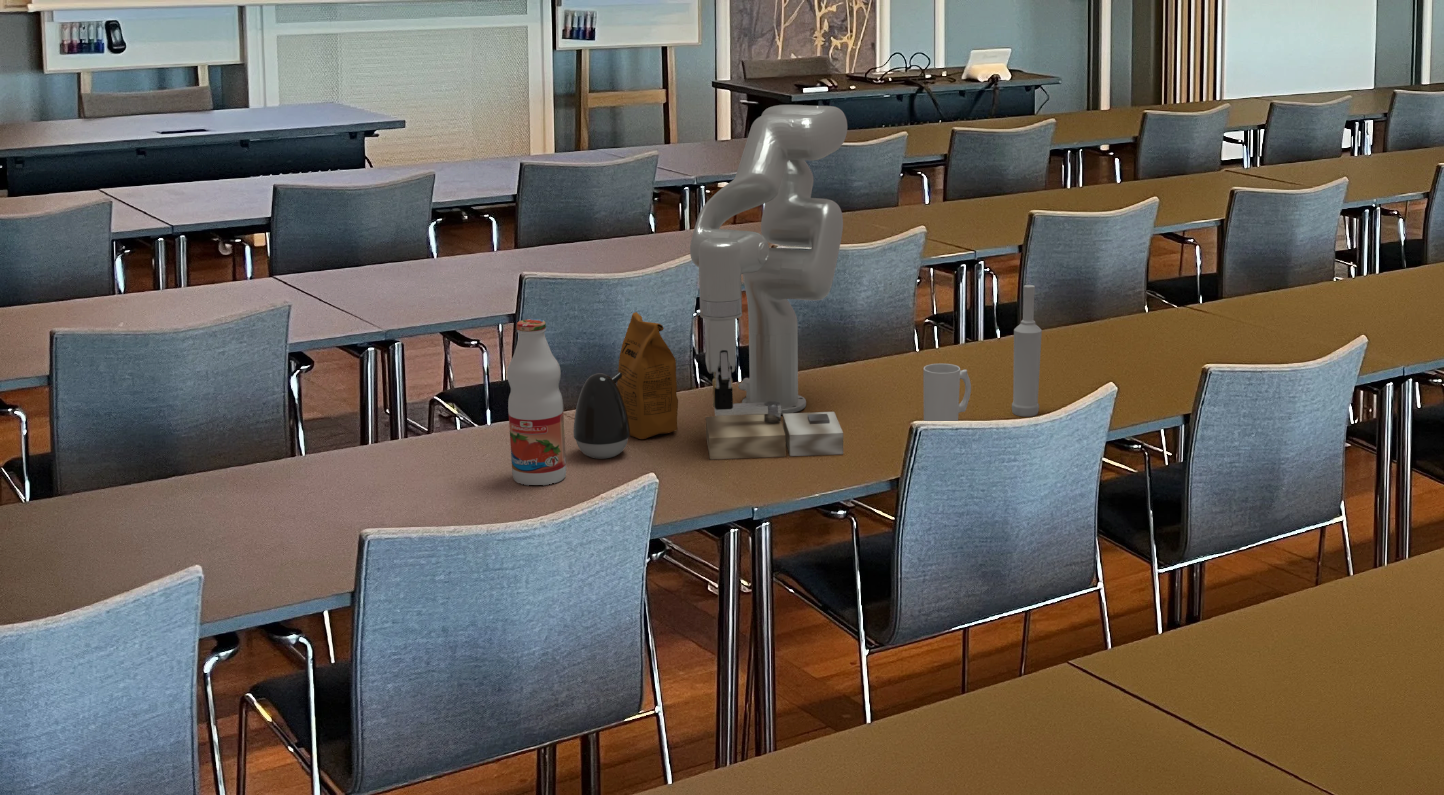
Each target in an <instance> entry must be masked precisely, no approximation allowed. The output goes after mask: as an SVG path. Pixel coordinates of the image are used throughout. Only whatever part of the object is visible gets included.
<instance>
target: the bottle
mask: <svg viewBox="0 0 1444 795" xmlns="http://www.w3.org/2000/svg"><path fill="white" fill-rule="evenodd" d="M1035 293H1036V287H1035V285H1033V284H1025V285H1023V309H1022V320H1021V321H1020V323H1019V325H1017V326H1016V327H1015V328H1014V329H1013V389H1012V390H1013V396H1012V397H1013V398H1012V400H1013V402H1012V403H1011V411H1012V414H1013V415H1016V416H1017V417H1035V416H1037V415H1038V413H1039V410H1040V404H1039V384H1040V366H1041V352H1042V351H1041V350H1042V349H1041V348H1042V334H1043V333H1042V332H1043V330H1042V329H1041V328H1040V327H1039V326H1038V325H1037V323H1036V321H1035V320H1034V318H1035V316H1034V315H1035V314H1034V313H1035V296H1036V295H1035Z"/></svg>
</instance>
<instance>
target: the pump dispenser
mask: <svg viewBox="0 0 1444 795" xmlns="http://www.w3.org/2000/svg"><path fill="white" fill-rule="evenodd" d="M621 377H622V374H621V373H620V372H618V371H617V373H615V374H613V376H609V374H605V373H600V372H597V373H593V374H591V375H590V376H588V378H587V379H586V380H585V382H584V384H583V386H582V388H581V390H580V393H579V397H578V400H577V403H576V407H575V413H574V421H573V430H572V431H573V432H572V433H573V438H574V440H575V442H576V445H577V447H578V448H579V450H580V452H582V454H584V455H585V456H587V457H589V458H592V459H598V460H600V459H601V460H603V459H611V458H614V457H616V456H617V455H619V454H621V453H622V452H623V451H624V450H625V448H626V446H627V444H628V440H629V437H631V436H630V426H629V420H628V415H627V411H626V407H625V404H624V401H623V398H622V396H621V393H620V391H619V389H618V387H617V381H618V380H619V379H620V378H621Z"/></svg>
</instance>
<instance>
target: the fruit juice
mask: <svg viewBox="0 0 1444 795" xmlns="http://www.w3.org/2000/svg"><path fill="white" fill-rule="evenodd" d="M546 324H547V323H546V321H545V320H543V319H540V318H539V319H538V318H527V319H522V320H519V321H518V322H516V330H517V331H516V333H518V338H517V342H516V346H515V350H514V352H513V356H512V357H511V360H510V362H509V364H508V366H507V371H506V375H507V380H508V384H509V387H510V393H509V396H508V400H507V401H508V402H507V403H508V404H507V405H508V407H507V409H508V410H507V411H508V423H509V425H508V426H509V440H510V441H509V442H510V456H511V458H510V459H511V460H510V461H511V473H512V478H513V480H514V482H515V483H518V484H519V483H521V484H520V485H523V484H524V486H529V485H543V486H549V484H550V485H553V484H552V483H554V484H556V483H559V482H561V481H563V480H564V479H565V478H566V474H567V457H566V456H567V455H566V441H565V440H566V437H565V416H564V401H563V396H562V393H561V390H560V389H559V385H560V382H561V381H560V380H561V375H562V374H561V367H560V364H559V362H558V360H557V359H556V358H555V356H554V355H553V353H552V351H551V348H550V346H549V343H548V340H547V338H546V334H545V333H546V331H547V325H546Z"/></svg>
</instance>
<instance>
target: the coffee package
mask: <svg viewBox="0 0 1444 795" xmlns="http://www.w3.org/2000/svg"><path fill="white" fill-rule="evenodd" d="M643 320H644V319H643V316H642V315H641V314H639V313H638V312H637V311H636V312H633V313H632V314H631V318H630V321H629V323H628V326H627V329H626V333H625V336H624V338H623V341H622V344H621V348H620V353H619V359H618V369H617V373H618V372H620V373H621V374H622V377H621V378H620V379H619V380H618V381H617V382H616V385H617V387H618V389H619V391H620V393H621V396H622V398H623V401H624V404H625V407H626V411H627V415H628V420H629V426H630V436H629V437H633V438H636V439H638V440H645V439H648V438H650V437H654V436H657V435H664V434H670V433H672V432H675V431H678V412H679V411H678V409H679V398H678V396H677V389H678V386H677V385H678V384H677V362H676V361H677V360H676V358H675V356H674V354H673V352H672V351H671V349H670V348H669V346H668V345H667V343H666V342H665V341H664V340H665V339H664V338H663V336H662V335H661V333H660V332H662V331H663V330H664V329H665V328H664V326H663V324H661V323H657V322H650V321H643Z"/></svg>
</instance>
